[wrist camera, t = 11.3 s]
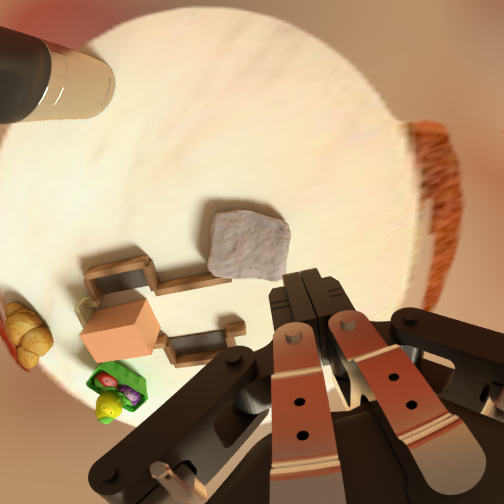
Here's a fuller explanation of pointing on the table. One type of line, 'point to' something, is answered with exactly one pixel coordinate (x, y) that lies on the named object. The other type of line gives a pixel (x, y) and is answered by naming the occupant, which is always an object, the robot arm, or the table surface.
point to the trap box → (144, 274)
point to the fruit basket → (116, 390)
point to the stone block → (248, 245)
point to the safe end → (83, 313)
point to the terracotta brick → (121, 332)
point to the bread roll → (27, 334)
